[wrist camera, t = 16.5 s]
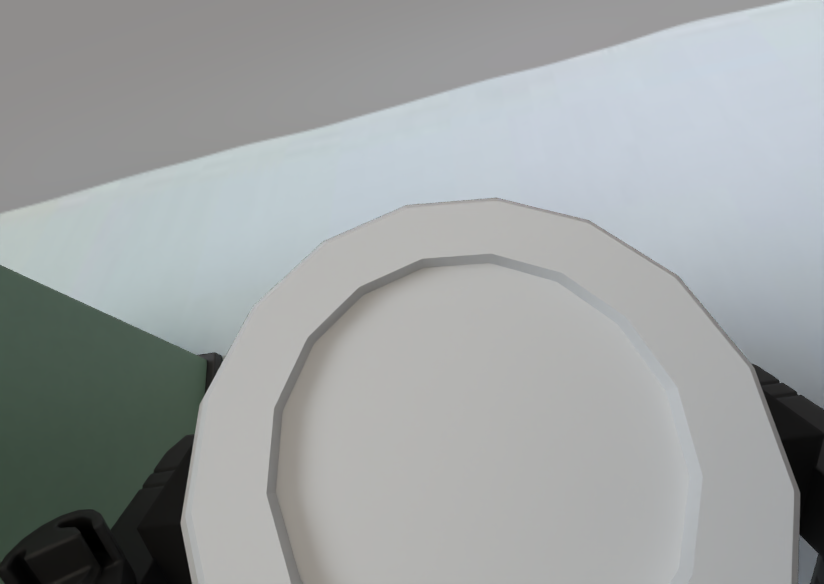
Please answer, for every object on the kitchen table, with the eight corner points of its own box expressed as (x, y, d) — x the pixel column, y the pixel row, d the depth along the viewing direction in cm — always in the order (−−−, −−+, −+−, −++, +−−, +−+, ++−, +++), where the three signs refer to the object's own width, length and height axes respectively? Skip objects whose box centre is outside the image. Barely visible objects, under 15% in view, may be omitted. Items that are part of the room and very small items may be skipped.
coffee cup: (584, 362, 17) (828, 156, 6) (584, 640, 13) (1161, 1359, 3) (365, 334, 18) (234, 121, 7) (313, 581, 15) (-87, 887, 4)
